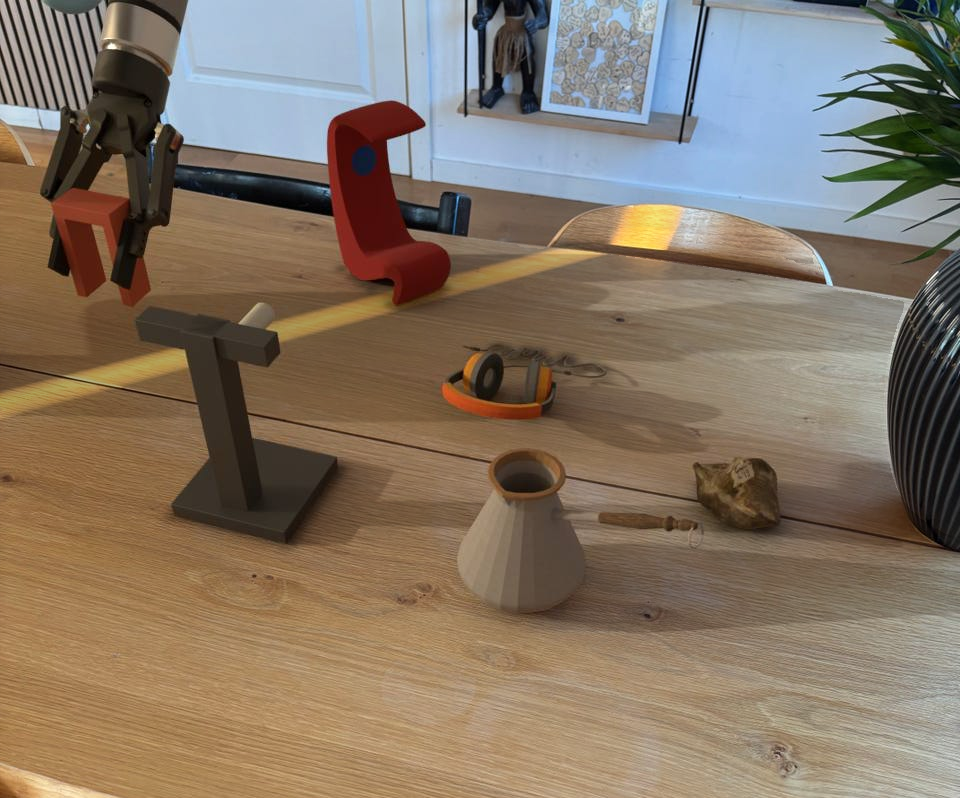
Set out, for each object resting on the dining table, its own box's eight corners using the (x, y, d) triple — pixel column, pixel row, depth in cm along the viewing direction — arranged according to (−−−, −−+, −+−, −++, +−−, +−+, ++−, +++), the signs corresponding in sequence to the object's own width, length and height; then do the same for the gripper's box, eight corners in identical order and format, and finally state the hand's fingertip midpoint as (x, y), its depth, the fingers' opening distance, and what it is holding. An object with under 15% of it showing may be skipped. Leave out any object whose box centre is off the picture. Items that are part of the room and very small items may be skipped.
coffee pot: (431, 593, 91) (427, 460, 80) (503, 524, 98) (508, 392, 87) (639, 702, 83) (667, 571, 72) (702, 619, 90) (737, 486, 79)
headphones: (616, 343, 114) (565, 403, 99) (608, 388, 117) (557, 453, 102) (477, 313, 118) (407, 366, 103) (473, 358, 121) (404, 415, 106)
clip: (77, 295, 114) (50, 203, 106) (97, 278, 116) (72, 187, 109) (132, 307, 112) (108, 214, 105) (151, 290, 115) (129, 198, 107)
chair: (336, 265, 131) (320, 100, 116) (382, 248, 134) (373, 85, 119) (404, 313, 123) (397, 143, 108) (452, 294, 126) (451, 126, 111)
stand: (173, 516, 98) (122, 330, 83) (235, 441, 106) (198, 259, 91) (286, 544, 95) (254, 358, 81) (340, 465, 103) (320, 283, 88)
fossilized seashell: (669, 468, 100) (713, 546, 95) (716, 420, 96) (764, 499, 91) (717, 482, 105) (761, 557, 100) (764, 437, 101) (812, 513, 96)
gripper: (235, 96, 110) (188, 306, 111) (75, 70, 114) (32, 273, 115) (202, 58, 102) (151, 284, 104) (32, 32, 106) (-14, 250, 108)
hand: (89, 278), depth 110 cm, fingers closed on clip, 7 cm apart
